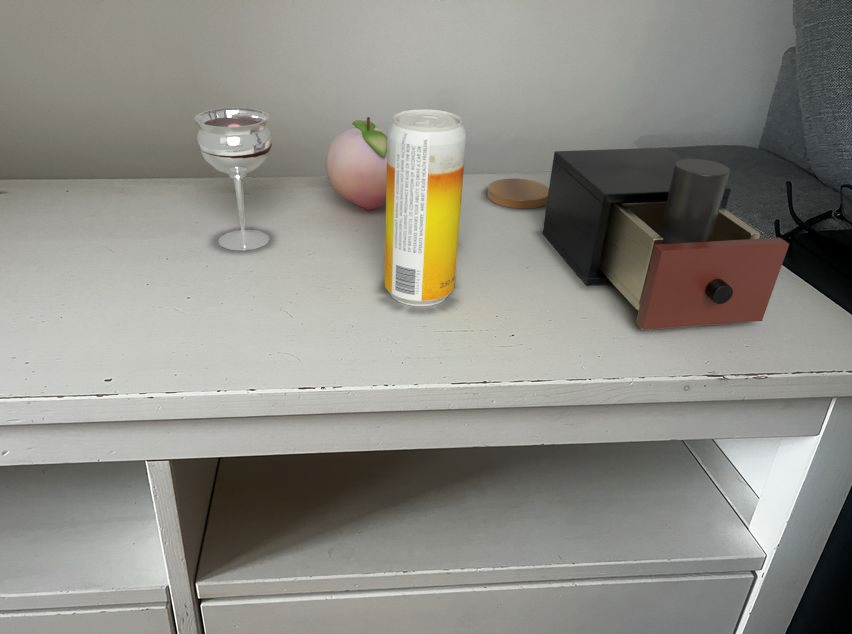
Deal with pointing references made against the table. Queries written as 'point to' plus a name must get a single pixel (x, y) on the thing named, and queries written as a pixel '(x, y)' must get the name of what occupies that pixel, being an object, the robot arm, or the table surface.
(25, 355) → the table surface
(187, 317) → the table surface
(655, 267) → the cabinet drawer
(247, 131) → the wineglass
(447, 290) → the beer can
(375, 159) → the decorative fruit
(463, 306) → the table surface
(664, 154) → the drawer cabinet
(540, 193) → the disc
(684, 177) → the dark grey cylinder
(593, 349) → the table surface
